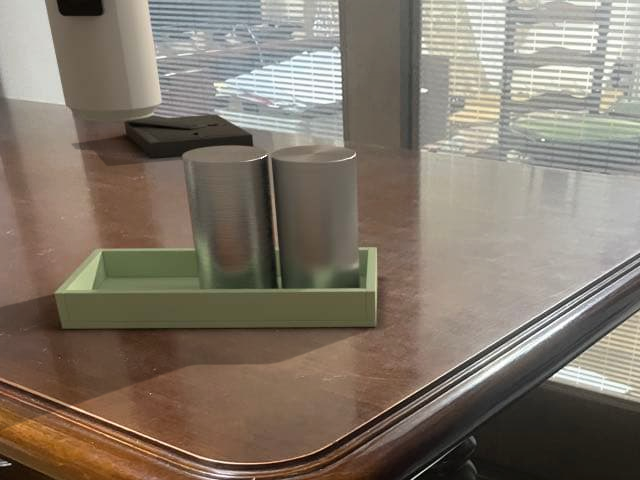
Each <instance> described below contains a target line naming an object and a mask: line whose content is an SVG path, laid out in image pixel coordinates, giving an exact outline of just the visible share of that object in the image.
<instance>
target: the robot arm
mask: <svg viewBox="0 0 640 480" xmlns="http://www.w3.org/2000/svg"><path fill="white" fill-rule="evenodd" d="M57 5H58V10H59V12H60V14H61V15H63V16H101V15H103V14H104V13H105V7H104V1H103V0H57Z"/></svg>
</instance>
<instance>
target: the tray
mask: <svg viewBox="0 0 640 480" xmlns="http://www.w3.org/2000/svg"><path fill="white" fill-rule="evenodd" d="M276 257H277V269H278V281H279V289H200V285H199V277H198V270H197V263H196V255H195V248H194V247H192V248H191V247H176V248H175V247H171V248H170V247H165V248H164V247H163V248H161V247H160V248H158V247H157V248H154V247H153V248H149V247H147V248H141V247H139V248H95V249H93V251H92V252H91V253H90V254H89V255H88V256H87V257H86V258H85V260H84V261H83V262H82V263H81V264H80V265H79V266H78V267H76V269H75V270H74V271H73V272H72V273H71V274H70V275H69V277H68V278H67V279H66V280H65V281H64V282H63V283H62V284H61V285H60V286H59V287H58V288H57V290H55V292H53V294H54V299H55V303H56V307H57V311H58V317H59V320H60V324H61V329H62V330H64V329H65V330H75V329H76V330H80V329H83V330H85V329H87V330H91V329H92V330H93V329H95V330H98V329H101V330H102V329H103V330H104V329H107V330H108V329H221V328H222V329H227V328H228V329H235V328H236V329H238V328H239V329H242V328H243V329H245V328H246V329H248V328H250V329H254V328H255V329H257V328H261V329H263V328H264V329H265V328H267V329H268V328H376V327H377V307H378V306H377V305H378V304H377V303H378V302H377V301H378V248H377V246H376V247H374V246H372V247H371V246H367V247H364V246H363V247H362V246H361V247H359V277H360V288H348V289H282V284H281V272H280V259H279V247H276Z"/></svg>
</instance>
